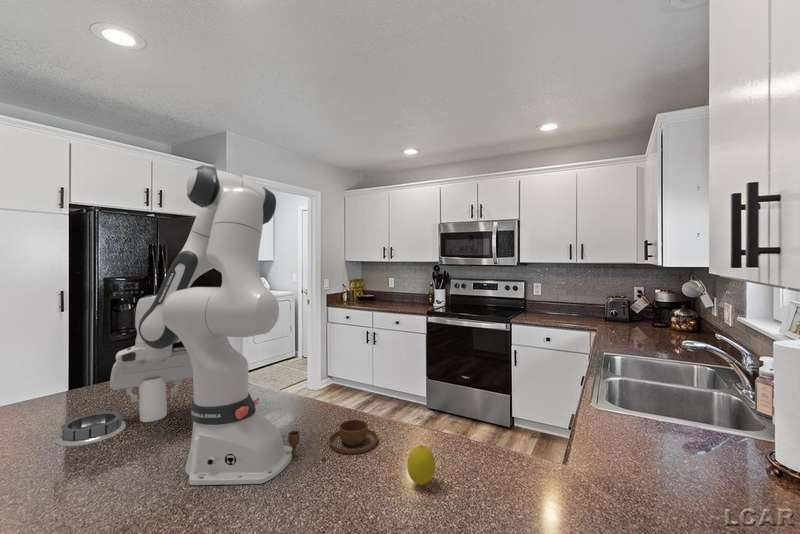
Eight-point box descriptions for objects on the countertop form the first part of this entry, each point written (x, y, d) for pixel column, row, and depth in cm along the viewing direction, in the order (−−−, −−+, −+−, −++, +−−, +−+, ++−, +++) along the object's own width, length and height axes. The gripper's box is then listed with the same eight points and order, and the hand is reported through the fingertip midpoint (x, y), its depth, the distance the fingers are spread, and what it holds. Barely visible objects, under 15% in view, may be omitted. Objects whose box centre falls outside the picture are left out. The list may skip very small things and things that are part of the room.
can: (154, 423, 102) (152, 380, 102) (133, 422, 103) (132, 380, 103) (172, 414, 109) (170, 373, 108) (152, 413, 110) (151, 373, 110)
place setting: (374, 464, 82) (374, 438, 82) (284, 463, 83) (285, 437, 83) (380, 430, 100) (380, 408, 100) (306, 429, 100) (306, 407, 100)
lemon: (427, 497, 70) (427, 454, 70) (402, 487, 73) (402, 447, 73) (439, 482, 75) (439, 442, 75) (415, 474, 78) (415, 436, 78)
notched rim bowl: (138, 424, 102) (138, 412, 102) (88, 448, 88) (88, 434, 88) (95, 420, 105) (95, 409, 105) (39, 444, 91) (39, 430, 91)
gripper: (194, 344, 115) (194, 388, 115) (110, 353, 103) (110, 402, 103) (196, 347, 110) (197, 394, 110) (109, 357, 98) (109, 410, 98)
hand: (154, 398), depth 106 cm, fingers open, 8 cm apart
